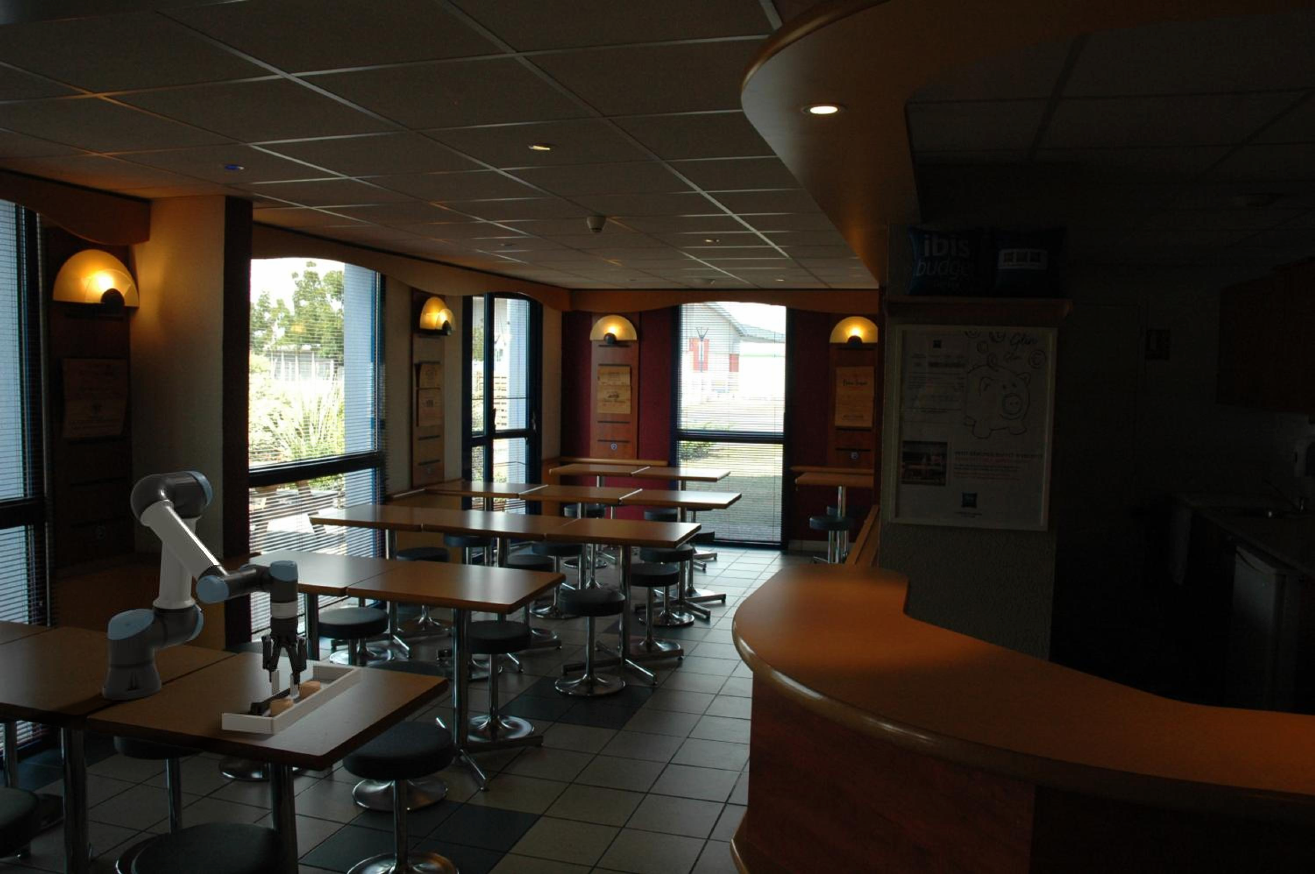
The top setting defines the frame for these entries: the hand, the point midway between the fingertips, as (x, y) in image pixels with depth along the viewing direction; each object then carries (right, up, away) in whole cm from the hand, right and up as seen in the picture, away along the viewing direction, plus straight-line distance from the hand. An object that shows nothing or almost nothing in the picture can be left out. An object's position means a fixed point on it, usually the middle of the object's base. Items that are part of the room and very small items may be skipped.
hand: (284, 694), depth 261 cm
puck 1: (+3, -3, -9) cm, 10 cm away
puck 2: (+5, -2, +5) cm, 8 cm away
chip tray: (+3, -2, -1) cm, 4 cm away
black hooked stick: (0, -3, -2) cm, 4 cm away
